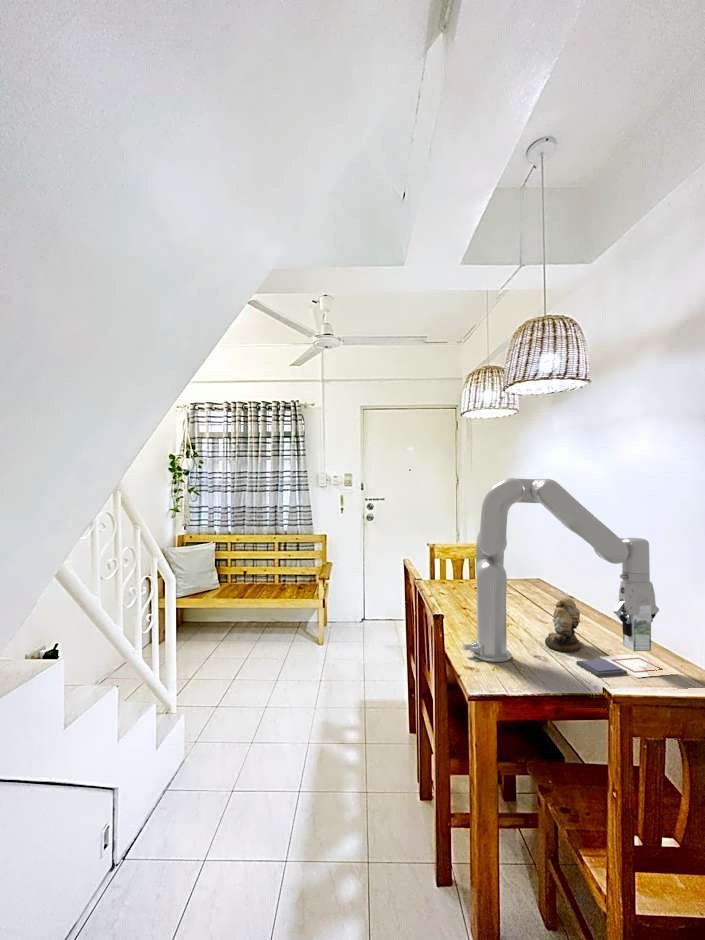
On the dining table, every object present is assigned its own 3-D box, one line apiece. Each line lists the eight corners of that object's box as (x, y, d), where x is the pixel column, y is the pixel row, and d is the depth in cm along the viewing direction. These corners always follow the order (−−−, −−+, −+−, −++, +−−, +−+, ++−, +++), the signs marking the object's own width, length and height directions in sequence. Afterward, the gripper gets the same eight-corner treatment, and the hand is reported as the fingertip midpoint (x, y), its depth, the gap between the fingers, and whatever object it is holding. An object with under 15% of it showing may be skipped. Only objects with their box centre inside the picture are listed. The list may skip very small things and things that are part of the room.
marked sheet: (637, 678, 146) (637, 676, 146) (599, 657, 163) (599, 656, 163) (678, 674, 149) (678, 673, 149) (636, 654, 165) (636, 653, 165)
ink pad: (597, 676, 147) (597, 672, 147) (576, 664, 157) (576, 660, 157) (626, 674, 149) (626, 670, 149) (604, 662, 159) (604, 658, 159)
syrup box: (640, 645, 159) (639, 599, 159) (652, 651, 153) (651, 604, 153) (622, 645, 159) (622, 600, 159) (634, 652, 153) (633, 604, 153)
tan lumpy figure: (545, 635, 187) (545, 590, 187) (579, 639, 182) (579, 593, 182) (544, 650, 170) (544, 600, 170) (582, 655, 165) (582, 604, 166)
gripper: (620, 581, 151) (620, 640, 151) (669, 578, 154) (670, 636, 154) (603, 576, 158) (604, 632, 158) (650, 574, 161) (651, 629, 161)
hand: (636, 634), depth 156 cm, fingers closed on syrup box, 6 cm apart
